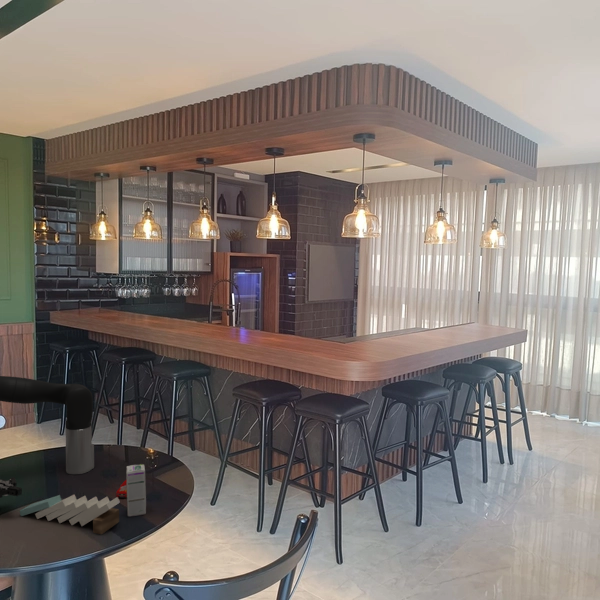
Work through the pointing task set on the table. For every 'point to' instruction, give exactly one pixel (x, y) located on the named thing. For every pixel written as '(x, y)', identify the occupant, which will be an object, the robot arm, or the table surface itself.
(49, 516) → the domino
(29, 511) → the domino
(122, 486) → the race car
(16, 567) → the table surface
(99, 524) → the end stop
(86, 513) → the domino
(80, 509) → the domino
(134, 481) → the syrup box
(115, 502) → the domino
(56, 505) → the domino
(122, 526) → the table surface
